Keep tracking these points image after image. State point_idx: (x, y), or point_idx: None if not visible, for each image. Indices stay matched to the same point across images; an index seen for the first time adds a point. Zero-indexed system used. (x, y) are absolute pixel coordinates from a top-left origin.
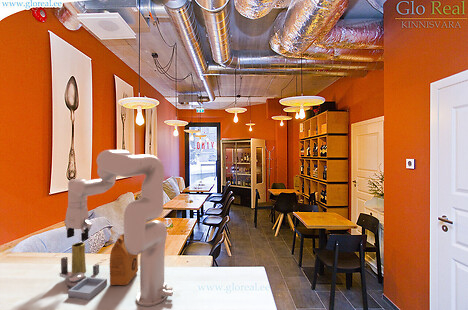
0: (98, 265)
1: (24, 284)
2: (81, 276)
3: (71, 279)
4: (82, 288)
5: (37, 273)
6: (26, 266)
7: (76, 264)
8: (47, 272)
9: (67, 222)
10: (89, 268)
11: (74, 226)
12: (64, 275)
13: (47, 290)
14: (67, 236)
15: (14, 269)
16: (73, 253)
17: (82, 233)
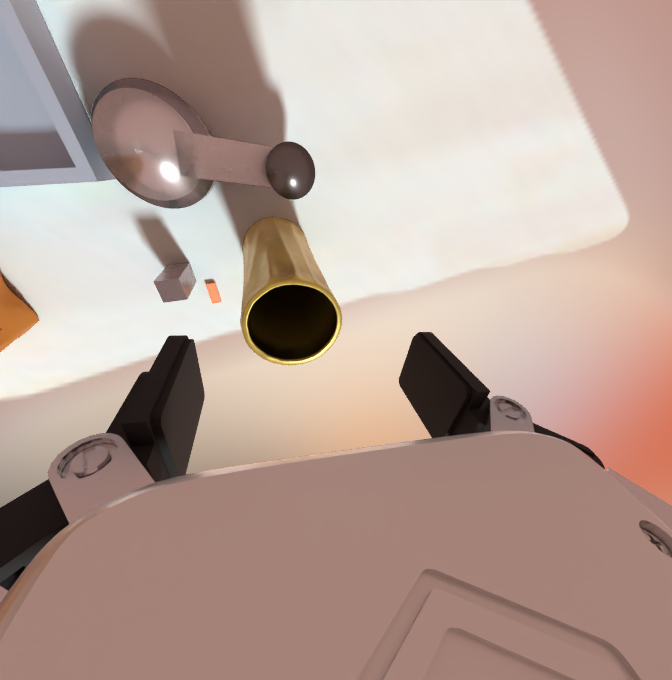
0: (162, 297)
1: (452, 73)
2: (106, 151)
3: (127, 88)
4: (23, 81)
5: (462, 190)
6: (542, 226)
7: (258, 239)
8: (424, 210)
9: (629, 561)
10: None
11: (284, 533)
12: (254, 144)
13: (268, 31)
14: (430, 339)
15: (575, 191)
16: (286, 258)
17: (125, 423)
